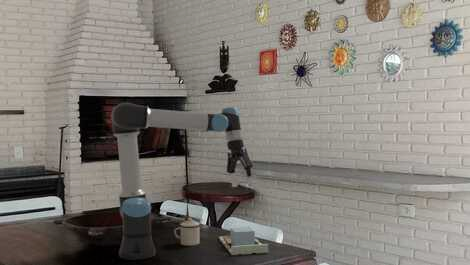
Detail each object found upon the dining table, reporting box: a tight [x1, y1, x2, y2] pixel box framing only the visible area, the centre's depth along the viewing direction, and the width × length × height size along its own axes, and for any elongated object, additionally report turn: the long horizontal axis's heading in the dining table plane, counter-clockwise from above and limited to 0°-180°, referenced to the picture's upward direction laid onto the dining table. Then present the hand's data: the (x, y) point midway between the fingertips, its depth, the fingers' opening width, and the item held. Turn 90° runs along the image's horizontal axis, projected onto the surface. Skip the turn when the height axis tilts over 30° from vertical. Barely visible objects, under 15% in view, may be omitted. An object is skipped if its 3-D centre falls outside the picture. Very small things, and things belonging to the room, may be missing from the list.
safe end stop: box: [230, 243, 269, 256], centre depth 214 cm, size 1×16×4 cm, turn 103°
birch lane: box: [218, 235, 262, 255], centre depth 228 cm, size 28×16×1 cm, turn 13°
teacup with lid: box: [173, 217, 201, 247], centre depth 232 cm, size 12×9×12 cm
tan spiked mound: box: [183, 203, 203, 228], centre depth 269 cm, size 15×10×13 cm
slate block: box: [230, 226, 256, 246], centre depth 227 cm, size 9×9×8 cm
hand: (242, 185), depth 233 cm, fingers open, 13 cm apart
